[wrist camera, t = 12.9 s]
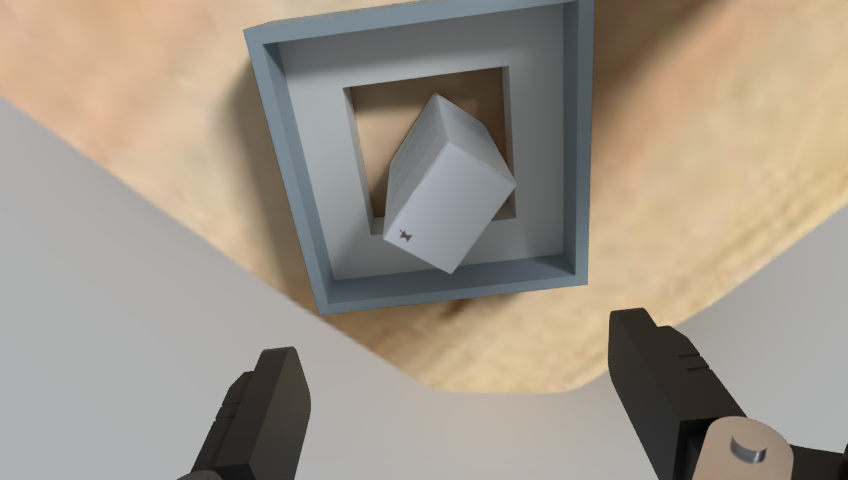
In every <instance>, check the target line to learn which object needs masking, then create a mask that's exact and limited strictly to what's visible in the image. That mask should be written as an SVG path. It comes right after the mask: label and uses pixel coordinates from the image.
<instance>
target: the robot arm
mask: <svg viewBox="0 0 848 480" xmlns="http://www.w3.org/2000/svg"><path fill="white" fill-rule="evenodd" d="M608 367H609V372H610V376H611V380H612V382H613V385H614V387H615V389H616V391H617V393H618V396H619V398H620V400H621V402H622V404H623V406H624V408H625V410H626V412H627V414H628V416H629V418H630V421H631V423H632V425H633V427H634V429H635V431H636V433H637V435H638V437H639V439H640V441H641V443H642V445H643V447H644V450H645V452H646V454H647V456H648V458H649V460H650V462H651V464H652V466H653V468H654V471H655V473H656V475H657V477H658V479H659V480H848V444H847V446H846V449H845V451H844V454H842V453H836V452H829V451H823V450H816V449H810V448H804V447H799V446H794V445H791V444H788V443H787V441H786V440H785V439H784V438H783V437H782V436H781V435H780V434H779V433H778V432H777V431H775V430H774V429H772V428H771V427H769V426H767V425H765V424H763V423H761V422H758V421H756V420H753V419H749V418H747V416H746V415H745V413H744V412H743V411H742V409H741V408H740V407H739V405H738V404H737V403H736V401H735V400H734V399H733V397H732V396H731V395H730V393H729V392H728V391H727V389H726V388H725V387H724V385H723V384H722V383H721V382H720V380H719V379H718V377H717V376H716V375H715V374H714V372H713V371H712V370H710V369H709V365H708V364H707V363H706V361H705V360H704V359H703V358H702V357H700V354H699V352H698V351H697V349H696V348H695V347H694V345H693V344H692V343H691V342H690V340H689V339H688V338H687V337H686V336H684V335H683V334H681V333H680V332H678V331H677V330H675V329H674V328H672V327H671V326H660V327H657V325H656V324H655V323H654V321H653V320H652V318H651V317H650V315H649V314H648V312H647V311H646V310H645V309H644V308H634V309H625V310H616V311H612V312H611V313H610V319H609V343H608ZM310 412H311V399H310V392H309V388H308V385H307V382H306V379H305V376H304V373H303V370H302V366H301V363H300V360H299V357H298V353H297V351H296V349H295V348H294V347H284V348H275V349H267V350H264V351H262V353H261V355H260V357H259V360H258V362H257V365H256V367H255V369H254V371H249V372H244V373H243V374H242V375H241V376H240V377H239V378H238V379H237V380H236V381H235V383H233V384H232V386H231V387H230V388H229V390H228V392H227V394H226V396H225V399H224V401H223V403H222V407H221V408H220V410H219V412H218V414H217V416H216V421H214V422H213V425H212V427H211V429H210V431H209V433H208V435H207V438H206V440H205V442H204V444H203V446H202V449H201V451H200V453H199V455H198V457H197V459H196V461H195V464H194V466H193V468H192V470H191V472H190V473H189V474H187V475H184V476H183V477H181V478H179V479H177V480H294V478H295V473H296V470H297V465H298V462H299V458H300V453H301V450H302V446H303V442H304V438H305V434H306V430H307V425H308V421H309V417H310Z"/></svg>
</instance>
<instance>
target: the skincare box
mask: <svg viewBox="0 0 848 480" xmlns="http://www.w3.org/2000/svg"><path fill="white" fill-rule="evenodd" d="M516 186H517V183H516V181H515V180H514V178H513V176H512V174H511V172H510V170H509V169H508V167H507V165H506V163H505V161H504V160H503V158H502V156H501V154H500V152H499V151H498V149H497V147H496V145H495V143H494V141H493V140H492V138H491V136H490V134H489V132H488V130H487V129H486V127H485V125H484V123H482V122H481V121H479V120H477V119H476V118H474V117H473V116H471V115H470V114H468V113H467V112H465V111H464V110H462V109H461V108H459V107H458V106H456V105H455V104H453V103H452V102H450V101H449V100H447V99H446V98H444V97H442V96H441V95H439V94H438V93H433V95H432V96H431V98H430V100H429V101H428V103H427V104H426V106H425V108H424V109H423V111H422V113H421V114H420V116H419V117H418V119H417V121H416V122H415V124H414V125H413V127H412V129H411V130H410V132H409V133H408V135H407V137H406V138H405V140H404V142H403V143H402V145H401V146H400V148H399V150H398V151H397V153H396V155H395V156H394V158H393V159H392V161H391V163H390V168H389V178H388V189H387V199H386V209H385V219H384V229H383V240H384V241H386V242H388V243H390V244H392V245H394V246H396V247H398V248H400V249H402V250H404V251H406V252H408V253H410V254H412V255H414V256H416V257H418V258H420V259H422V260H424V261H426V262H428V263H430V264H431V265H433V266H435V267H437V268H439V269H441V270H443V271H445V272H447V273H449V274H452V273H453V272H454V270H455V269H456V268H457V266H458V265H459V264H460V262H461V261H462V260H463V258H464V257H465V255H466V254H467V253H468V251H469V250H470V249H471V247H472V246H473V245H474V243H475V242H476V241H477V239H478V238H479V236H480V235H481V234H482V232H483V231H484V229H485V228H486V227H487V225H488V224H489V222H490V221H491V220H492V218H493V217H494V215H495V214H496V213H497V211H498V210H499V209H500V207H501V206H502V205H503V203H504V202H505V200H506V199H507V198H508V196H509V195H510V194H511V192H512V191H513V190H514V189H515V187H516Z"/></svg>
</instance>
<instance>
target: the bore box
mask: <svg viewBox="0 0 848 480" xmlns="http://www.w3.org/2000/svg"><path fill="white" fill-rule="evenodd" d="M594 6H595V0H420V1H413V2H406V3H399V4H392V5H385V6H377V7H370V8H363V9H356V10H349V11H342V12H334V13H327V14H320V15H313V16H306V17H298V18H291V19H284V20H277V21H271V22H268V23H264V24H261V25H257V26H254V27H251V28H247V29H244V30H243V32H244V36H245V40H246V43H247V47H248V51H249V55H250V58H251V62H252V66H253V70H254V73H255V77H256V81H257V85H258V88H259V92H260V96H261V100H262V103H263V107H264V111H265V114H266V118H267V122H268V126H269V129H270V133H271V137H272V141H273V144H274V148H275V152H276V156H277V159H278V163H279V167H280V171H281V174H282V178H283V182H284V186H285V189H286V193H287V197H288V201H289V204H290V208H291V212H292V216H293V219H294V223H295V227H296V231H297V234H298V238H299V242H300V245H301V249H302V253H303V257H304V260H305V264H306V268H307V272H308V275H309V279H310V283H311V287H312V290H313V294H314V298H315V302H316V305H317V309H318V313H319V315H326V314H335V313H344V312H352V311H361V310H370V309H379V308H387V307H396V306H405V305H414V304H422V303H431V302H440V301H449V300H457V299H466V298H475V297H483V296H492V295H501V294H510V293H518V292H527V291H536V290H545V289H553V288H562V287H571V286H580V285H588V247H589V207H590V167H591V127H592V86H593V46H594ZM494 67H502V80H503V99H504V118H505V136H506V155H507V167H508V169H509V170H510V172H511V174H512V176H513V178H514V180H515V181H516V183H517V186H516V187H515V189H514V190H513V191H512V192H511V194H510V195H509V201H506V202H504V203H503V205H502V206H501V207H500V209H499V210H498V211H497V213H496V214H495V215H494V217H493V218H492V220H491V221H490V222H489V224H488V225H487V227H486V228H485V229H484V231H483V232H482V234H481V235H480V236H479V238H478V239H477V241H476V242H475V243H474V245H473V246H472V247H471V249H470V250H469V251H468V253H467V254H466V255H465V257H464V258H463V260H462V261H461V262H460V264H459V265H458V266H457V268H456V269H455V270H454V272H453V273H452V274H449V273H447V272H445V271H443V270H441V269H439V268H437V267H435V266H433V265H431V264H430V263H428V262H426V261H424V260H422V259H420V258H418V257H416V256H414V255H412V254H410V253H408V252H406V251H404V250H402V249H400V248H398V247H396V246H394V245H392V244H390V243H388V242H386V241H384V240H383V229H384V219H385V216H383V217H375V218H374V215H373V210H372V204H371V199H370V194H369V188H368V183H367V178H366V172H365V167H364V162H363V156H362V151H361V146H360V140H359V135H358V130H357V124H356V119H355V114H354V108H353V103H352V98H351V92H350V87H352V86H359V85H367V84H374V83H382V82H389V81H397V80H404V79H412V78H419V77H427V76H434V75H442V74H449V73H457V72H464V71H472V70H479V69H487V68H494Z"/></svg>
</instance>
